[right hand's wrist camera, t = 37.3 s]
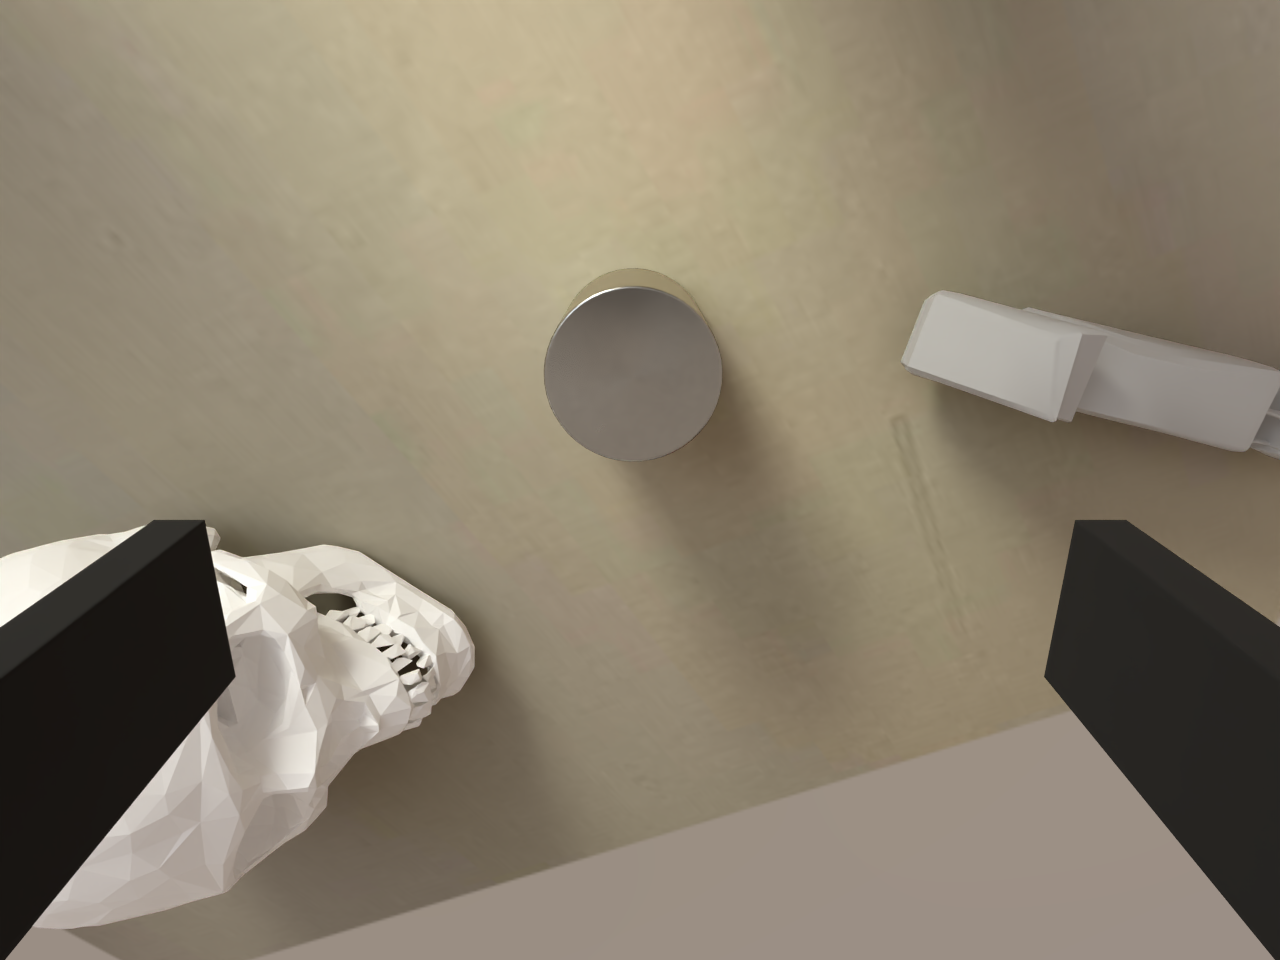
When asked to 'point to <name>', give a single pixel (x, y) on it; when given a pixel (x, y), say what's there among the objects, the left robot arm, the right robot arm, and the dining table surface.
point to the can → (633, 367)
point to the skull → (257, 717)
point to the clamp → (1094, 372)
